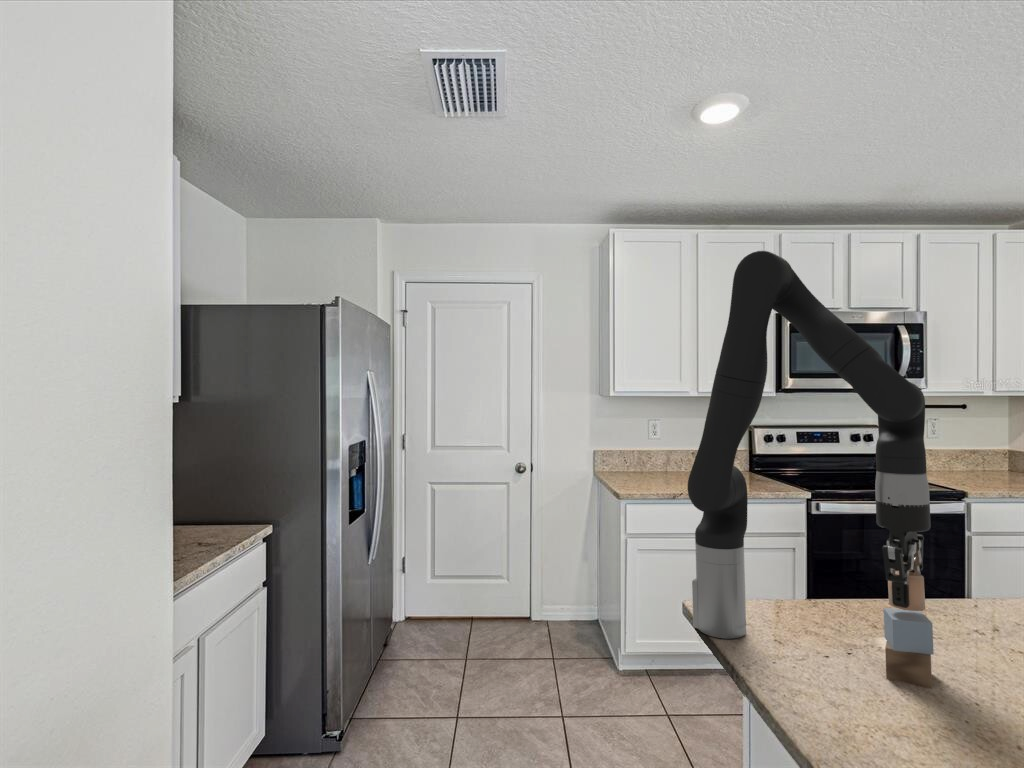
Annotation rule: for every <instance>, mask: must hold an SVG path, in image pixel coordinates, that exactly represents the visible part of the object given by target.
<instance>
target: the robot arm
mask: <svg viewBox="0 0 1024 768" xmlns="http://www.w3.org/2000/svg"><path fill="white" fill-rule="evenodd" d="M772 310H774V311H775V312H776V313H778V314H779V315H781V316H782V317H783V318H785V320H786V321H788V323H790V324H791V325H792V326H793V327H794V328H795V329H796V331H798V332H799V334H800V335H801V336H802V338H803V339H804V340H805V341H806V343H807V344H808V345H809V346H810V348H811V349H812V350H813V351H814V352H815V354H816V355H818V357H819V358H820V359H821V360H822V361H823V362H824V363H825V364H827V366H828V367H829V368H830V369H831V370H832V371H834V373H836V374H837V375H838V376H839V377H840V378H841V379H842V380H843V381H845V382H846V383H847V384H849V385H850V386H851V387H852V389H853V390H854V392H855V393H856V394H858V396H859V397H860V398H861V400H863V401H864V402H865V404H867V405H866V406H868V407H869V408H870V409H871V410H872V411H873V412H874V413H875V414H876V415H877V427H878V438H877V441H876V444H875V445H876V446H875V463H876V464H875V465H876V467H875V468H876V474H875V483H874V484H875V485H874V486H875V487H874V488H875V489H874V491H875V515H876V516H875V517H876V518H875V519H876V520H875V521H876V525H877V526H879V528H880V527H881V528H882V529H886V530H888V532H889V538H887V539H886V545H883V546H882V548H881V550H882V555H883V556H882V557H883V558H882V559H883V566H884V572H885V576H884V577H885V580H886V581H887V582H888V581H890V582H892V602H893V604H894V605H895V606H899V607H903V608H907V607H908V606H909V572H912V573H917V574H920V575H921V571H923V569H924V540H925V537H924V535H923V534H920V533H924V532H928V531H930V529H931V527H932V526H931V505H930V503H931V502H930V500H931V499H930V486H929V481H928V474H927V453H926V446H925V426H926V425H925V424H926V422H925V421H926V398H925V395H924V393H923V390H921V388H920V387H919V386H918V385H916V384H914V383H913V382H910V381H909V380H908V379H906V378H905V377H904V376H903V375H902V374H901V373H900V372H898V371H897V370H896V369H895V368H893V367H892V366H891V365H890V364H888V362H886V361H885V360H884V359H883V357H882V356H881V354H880V353H879V352H878V351H877V349H875V348H874V347H873V346H872V345H870V343H868V341H866V340H865V339H864V338H863V337H861V335H859V333H857V332H856V331H855V330H854V329H852V328H851V327H850V326H849V325H847V323H845V322H844V321H843V320H841V319H840V318H839V317H838V316H837V315H835V314H834V313H833V312H832V311H830V310H829V309H828V307H826V306H825V305H824V304H823V303H822V302H821V301H820V300H819V299H818V298H817V297H816V296H815V295H814V294H813V293H812V292H811V291H810V290H809V288H807V286H806V285H805V283H804V282H803V281H802V280H801V278H800V276H798V275H797V273H796V272H795V270H794V269H793V267H792V266H791V264H790V263H789V262H788V261H787V259H785V258H783V257H782V256H779V255H777V254H776V253H773V252H771V251H768V250H763V249H762V250H761V249H759V250H755V251H752V252H750V253H748V254H746V255H745V256H744V257H743V258H742V259H741V260H740V261H739V263H738V264H737V266H736V269H735V271H734V274H733V279H732V288H731V299H730V308H729V315H728V321H727V327H726V330H725V334H724V338H723V342H722V346H721V350H720V355H719V359H718V363H717V366H716V370H715V375H714V379H713V383H712V388H711V393H710V400H709V404H708V408H707V413H706V417H705V421H704V427H703V431H702V435H701V440H700V443H699V447H698V450H697V452H696V455H695V458H694V461H693V464H692V467H691V470H690V473H689V476H688V480H687V493H688V498H689V500H690V501H691V503H692V505H693V506H694V507H695V508H696V509H697V510H699V511H701V512H702V513H703V514H702V517H701V520H700V522H699V523H698V525H697V527H696V528H695V532H694V533H695V534H694V535H695V537H694V540H695V542H694V543H695V572H696V577H695V578H694V579H693V580H691V585H692V586H691V588H692V589H691V590H692V591H691V593H692V594H691V595H692V626H693V628H695V629H697V630H698V631H699V632H701V633H703V634H705V635H706V636H710V637H713V638H718V639H720V638H721V639H727V640H729V639H733V640H734V639H738V638H743V637H744V636H745V635H746V634H747V614H746V613H747V610H746V608H747V607H746V605H747V604H746V579H745V578H746V573H745V569H746V568H745V567H746V566H745V543H744V542H745V541H744V540H745V534H746V532H747V528H748V503H749V501H748V486H747V485H748V484H747V482H746V477H745V476H744V474H743V471H741V470H740V469H739V468H738V467H736V466H735V461H736V456H737V451H738V449H739V446H740V443H741V442H742V439H743V437H744V436H745V434H746V432H747V431H748V429H749V427H751V424H752V422H753V421H754V418H755V417H756V414H757V413H758V410H759V408H760V406H761V403H762V398H763V393H764V390H765V386H766V385H765V384H766V381H767V374H768V346H767V344H768V341H767V339H768V338H767V337H768V336H767V335H768V325H769V321H770V318H771V315H772ZM918 533H919V534H918ZM895 571H899V575H898V574H895Z"/></svg>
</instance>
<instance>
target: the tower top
mask: <svg viewBox="0 0 1024 768" xmlns="http://www.w3.org/2000/svg"><path fill="white" fill-rule="evenodd" d="M883 626H884V627H883V629H884V631H883V633H884V639H885V640H886V642H888V643H889V644H890V646H891V647H892V649H893V650H894V651H903V652H912V653H921V654H931V656H934V652H935V651H934V632H933V630H934V629H933V626H934V625H933V622H932V621H931V620H930V618H929V617H927V616H926V614H924V613H923V611H909V610H903V609H899V608H887V607H883Z"/></svg>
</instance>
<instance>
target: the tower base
mask: <svg viewBox="0 0 1024 768" xmlns="http://www.w3.org/2000/svg"><path fill="white" fill-rule="evenodd" d="M885 642H886V643H885V648H884V649H885V650H884V651H885V676H886V678H885V679H886V680H892V681H896V682H900V683H904V684H909V685H912V686H914V685H915V686H919V687H923V688H926V689H932V679H933V678H932V655H931V654H921V653H912V652H903V651H894V650H893V649H892V647H891V646H890V644H889V643H888V642H887V641H885Z"/></svg>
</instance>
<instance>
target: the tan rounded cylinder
mask: <svg viewBox="0 0 1024 768" xmlns="http://www.w3.org/2000/svg"><path fill="white" fill-rule="evenodd" d="M895 574H898V575H899V571H898V570H895ZM887 588H888V589H887V590H888V591H887V592H888V605H890V606H891V607H892V608H894V609H901V610H909V611H921V612H923V611H925V610H926V596H925V577H924V575H922V574H921V573H920V574H917V573H912V572H909V606H908V607H907V608H903V607H899V606H895V605H894V604H893V602H892V582H890V581H887Z"/></svg>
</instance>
